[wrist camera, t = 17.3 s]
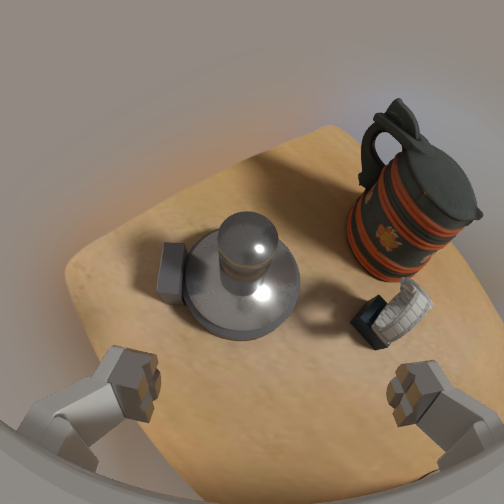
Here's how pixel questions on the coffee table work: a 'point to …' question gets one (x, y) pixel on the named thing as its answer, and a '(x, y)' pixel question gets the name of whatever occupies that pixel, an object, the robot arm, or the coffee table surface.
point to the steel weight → (245, 252)
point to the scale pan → (239, 307)
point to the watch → (392, 315)
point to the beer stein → (406, 200)
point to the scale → (176, 293)
